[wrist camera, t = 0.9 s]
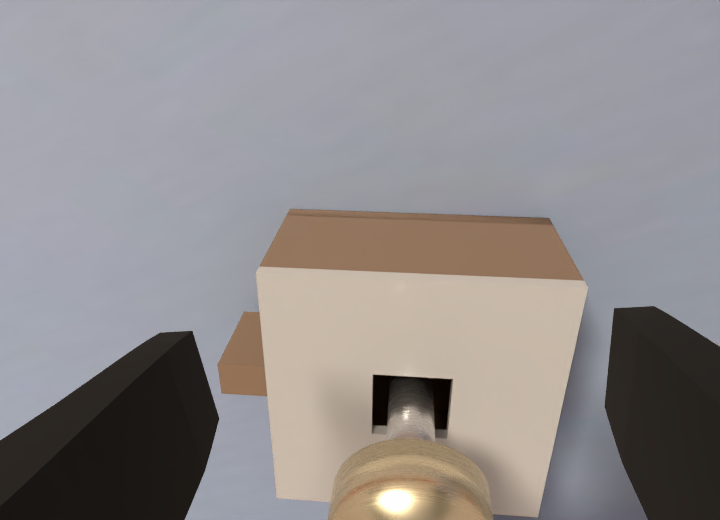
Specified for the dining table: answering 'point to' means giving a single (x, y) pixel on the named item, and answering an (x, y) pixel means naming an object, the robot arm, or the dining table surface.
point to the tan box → (411, 341)
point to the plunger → (410, 468)
